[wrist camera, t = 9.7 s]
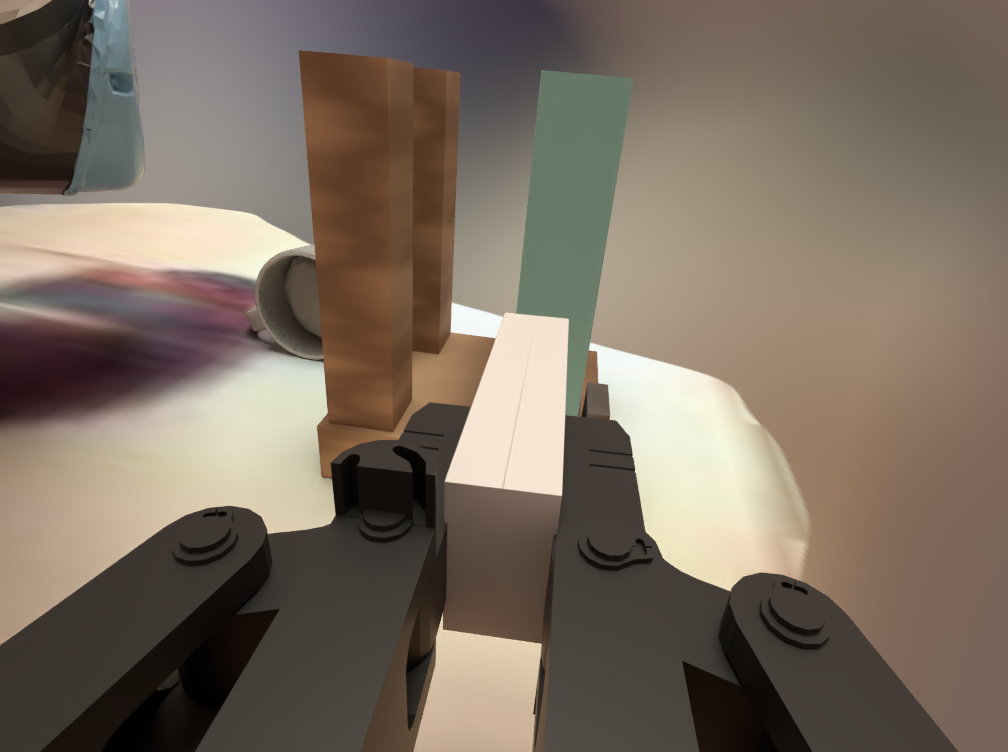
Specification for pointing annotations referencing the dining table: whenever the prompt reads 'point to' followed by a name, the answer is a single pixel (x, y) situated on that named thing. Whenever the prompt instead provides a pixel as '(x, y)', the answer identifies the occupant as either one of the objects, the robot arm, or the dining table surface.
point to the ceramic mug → (290, 302)
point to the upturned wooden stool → (389, 248)
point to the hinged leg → (572, 206)
